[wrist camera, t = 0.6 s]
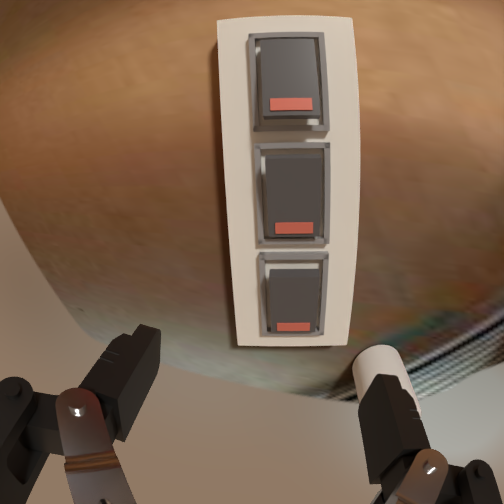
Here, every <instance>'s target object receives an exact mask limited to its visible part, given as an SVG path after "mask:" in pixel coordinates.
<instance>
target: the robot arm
mask: <svg viewBox="0 0 504 504" xmlns="http://www.w3.org/2000/svg"><path fill="white" fill-rule="evenodd" d="M160 344H161V331H160V329H156V328H153V327H149V326H146V325H142V324H140V325H139V326H138V327H137V329H136V330H135V331H134V333H133V334H132V336H131V335H127V334H124V333H123V334H122V335H120V336H118V337H117V338H115V339H113V340H112V341H111V343H110V344H109V345H108V347H107V348H106V350H105V351H104V352H103V353H102V355H101V356H100V359H98V360H97V362H96V363H95V364H94V366H93V367H92V369H91V370H90V372H89V373H88V375H87V376H86V377H85V378H84V380H83V381H82V383H81V384H80V385H79V387H78V388H71V389H68V390H65V391H64V392H62V393H61V394H60V395H50V394H44V393H39V392H33V389H32V387H31V385H30V383H29V382H28V381H26V380H25V379H23V378H20V377H8V378H5V379H4V380H2V381H1V382H0V504H26V501H27V499H28V497H29V495H30V493H31V491H32V488H33V486H34V484H35V482H36V480H37V478H38V476H39V474H40V472H41V470H42V468H43V466H44V464H45V462H46V460H47V458H48V456H49V454H50V453H52V454H58V455H63V456H65V459H66V463H65V464H64V467H65V473H66V476H67V480H68V484H69V488H70V491H71V495H72V498H73V501H74V504H136V501H135V499H134V497H133V495H132V492H131V490H130V487H129V485H128V483H127V480H126V478H125V475H124V473H123V470H122V468H121V465H120V463H119V460H118V458H117V456H116V454H115V451H114V448H113V446H112V444H113V442H114V440H115V439H117V440H120V441H122V442H125V440H126V438H127V436H128V434H129V431H130V429H131V427H132V425H133V423H134V421H135V419H136V417H137V414H138V412H139V410H140V408H141V406H142V404H143V402H144V400H145V398H146V396H147V394H148V392H149V390H150V388H151V386H152V384H153V381H154V379H155V377H156V375H157V372H158V369H159V364H160ZM358 417H359V422H360V428H361V433H362V438H363V445H364V450H365V456H366V463H367V469H368V476H369V482H370V484H381V487H382V489H381V490H380V491H379V492H378V493H377V495H376V496H375V498H374V499H373V501H372V502H371V503H370V504H503V503H502V500H501V496H500V493H499V490H498V486H497V483H496V480H495V477H494V474H493V471H492V469H491V468H490V466H489V465H488V464H487V463H486V462H484V461H482V460H473V461H471V462H470V463H469V464H468V465H466V466H465V467H459V466H454V465H449V464H448V462H447V460H446V458H445V457H444V456H443V455H442V454H441V453H440V452H438V451H436V450H434V449H431V447H430V444H429V441H428V438H427V435H426V432H425V429H424V426H423V423H422V421H421V420H420V415H419V412H418V411H417V407H416V404H415V401H414V399H413V397H412V396H411V395H410V394H409V393H408V391H407V390H406V389H402V386H401V384H400V381H399V378H398V377H397V376H396V375H388V374H377V375H376V376H375V377H374V379H373V381H372V383H371V384H370V386H369V388H368V390H367V391H366V393H365V395H364V396H363V398H362V400H361V402H360V404H359V409H358Z"/></svg>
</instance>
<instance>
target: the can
mask: <svg viewBox="0 0 504 504" xmlns="http://www.w3.org/2000/svg"><path fill="white" fill-rule="evenodd" d="M352 371H353V376H354V381H355V386H356V391H357V395H358V400H359V404H360V402H361V400H362V398H363V396H364V395H365V393H366V391H367V390H368V388H369V386H370V384H371V383H372V381H373V379H374V377H375V376H376V375H377V374H388V375H396V376H397V377H398V378H399V381H400V384H401V386H402V389H406V390H407V391H408V393H409V394H410V395H411V396H412V397H413V399H414V401H415V404H416V407H417V411H418V412H419V415H420V419H421V409H420V406H419V403H418V400H417V397H416V395H415V392H414V390H413V387H412V384H411V382H410V379H409V377H408V374H407V372H406V369H405V367H404V365H403V362H402V360H401V358H400V355H399V353H398V352H397V350H396V349H395V348H393V347H391V346H388V345H375V346H372V347H369V348H367V349H365V350H364V351H362V352H361V353H360V354H359V355H358V356H357V357H356V359H355V361H354V363H353V366H352Z"/></svg>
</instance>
